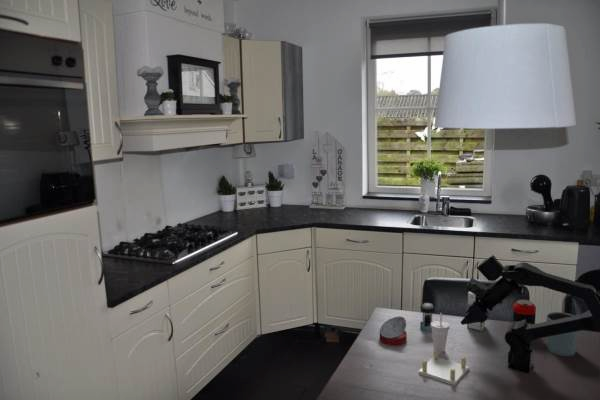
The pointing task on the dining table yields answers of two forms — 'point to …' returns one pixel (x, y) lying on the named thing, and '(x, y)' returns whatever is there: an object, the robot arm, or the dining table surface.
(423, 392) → the dining table surface
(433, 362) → the pin plate
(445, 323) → the smoothie
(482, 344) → the dining table surface
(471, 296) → the syrup box
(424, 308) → the push button
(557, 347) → the teal cylindrical pot
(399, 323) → the canned food
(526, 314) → the soda can
